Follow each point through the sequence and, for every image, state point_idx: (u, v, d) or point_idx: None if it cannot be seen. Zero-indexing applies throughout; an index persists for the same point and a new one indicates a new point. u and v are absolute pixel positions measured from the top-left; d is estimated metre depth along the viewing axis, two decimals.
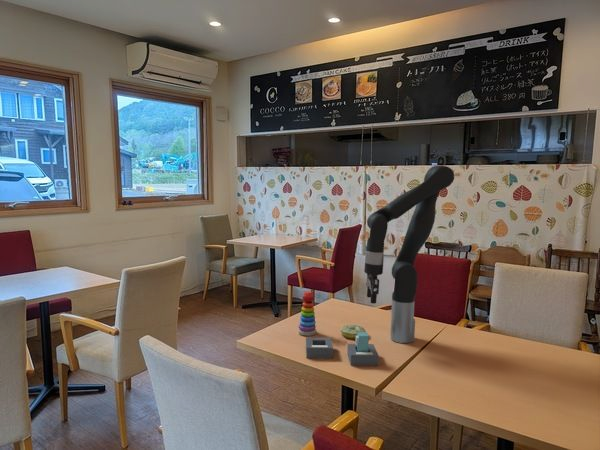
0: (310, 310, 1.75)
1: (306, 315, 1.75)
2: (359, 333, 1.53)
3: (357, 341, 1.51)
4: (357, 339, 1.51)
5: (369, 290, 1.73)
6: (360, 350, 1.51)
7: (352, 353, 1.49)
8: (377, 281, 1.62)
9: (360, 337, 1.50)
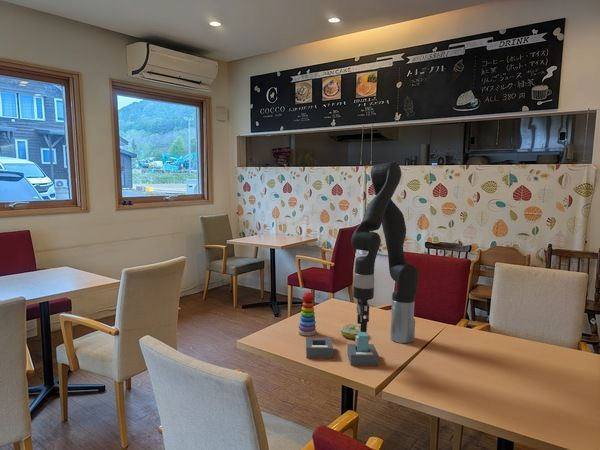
0: (310, 310, 1.75)
1: (306, 315, 1.75)
2: (359, 333, 1.53)
3: (357, 341, 1.51)
4: (357, 339, 1.51)
5: (359, 316, 1.56)
6: (360, 350, 1.51)
7: (352, 353, 1.49)
8: (367, 307, 1.44)
9: (360, 337, 1.50)
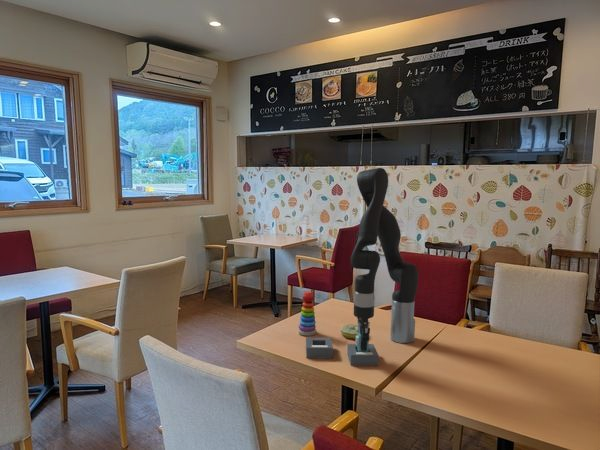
0: (310, 310, 1.75)
1: (306, 315, 1.75)
2: None
3: (357, 341, 1.51)
4: (357, 339, 1.51)
5: None
6: (360, 350, 1.51)
7: (352, 353, 1.49)
8: (367, 330, 1.45)
9: None
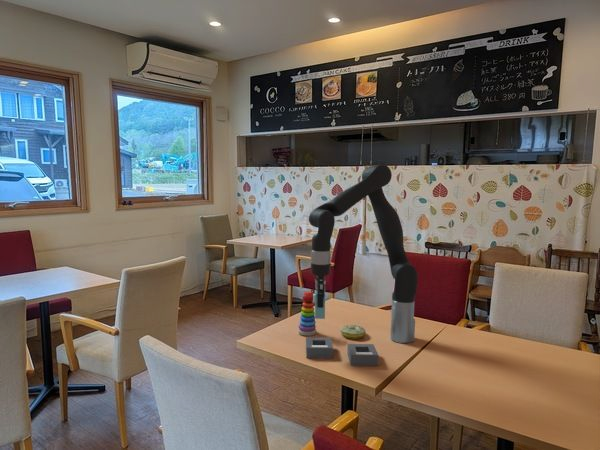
0: (310, 310, 1.75)
1: (306, 315, 1.75)
2: (316, 291, 1.57)
3: (314, 298, 1.55)
4: (314, 296, 1.55)
5: None
6: (317, 307, 1.55)
7: (352, 353, 1.49)
8: (322, 286, 1.49)
9: None
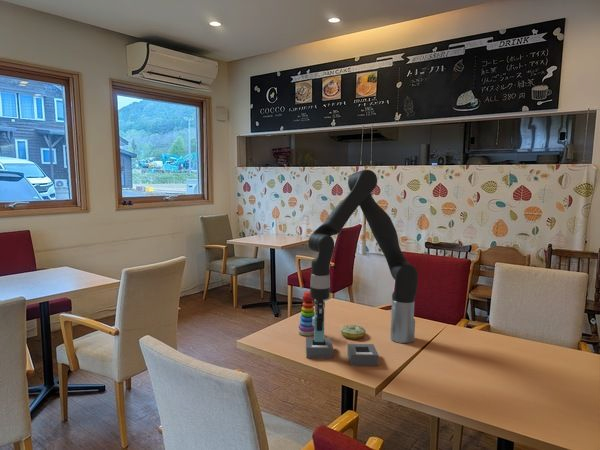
0: (310, 310, 1.75)
1: (306, 315, 1.75)
2: None
3: (313, 322, 1.57)
4: (313, 320, 1.57)
5: None
6: (316, 330, 1.56)
7: (352, 353, 1.49)
8: (322, 311, 1.51)
9: (316, 317, 1.56)
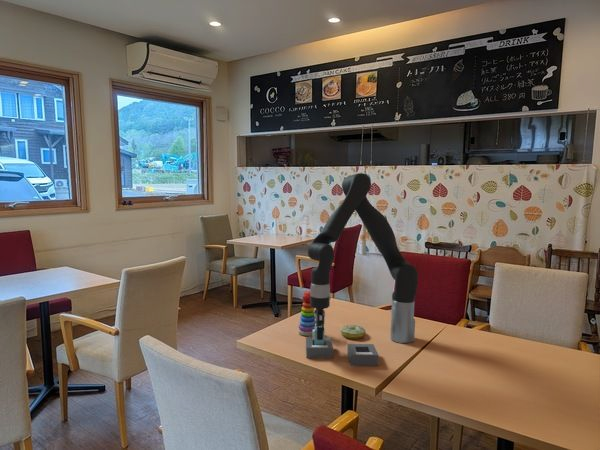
0: (310, 310, 1.75)
1: (306, 315, 1.75)
2: (316, 327, 1.58)
3: (313, 335, 1.57)
4: (313, 333, 1.57)
5: None
6: (316, 343, 1.57)
7: (352, 353, 1.49)
8: (322, 317, 1.50)
9: None
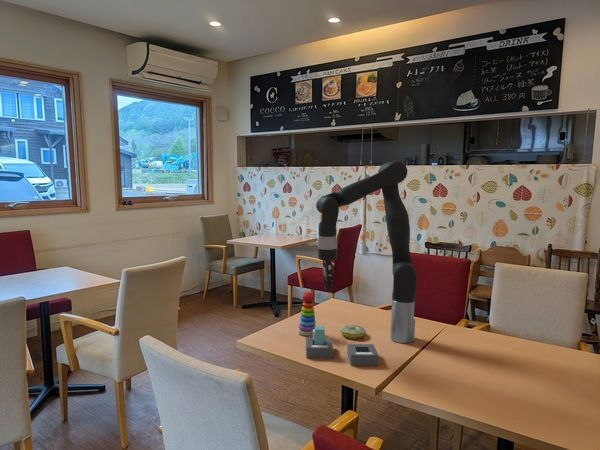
0: (310, 310, 1.75)
1: (306, 315, 1.75)
2: (316, 327, 1.58)
3: (314, 335, 1.57)
4: (314, 333, 1.57)
5: (326, 277, 1.66)
6: (316, 343, 1.57)
7: (352, 353, 1.49)
8: (331, 266, 1.55)
9: (317, 330, 1.56)
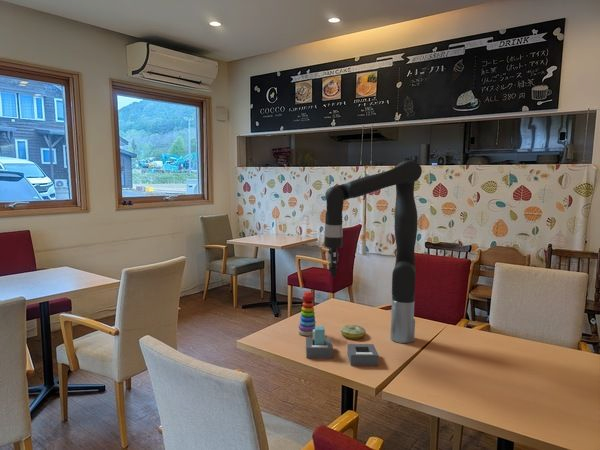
0: (310, 310, 1.75)
1: (306, 315, 1.75)
2: (316, 327, 1.58)
3: (314, 335, 1.57)
4: (314, 333, 1.57)
5: (331, 264, 1.73)
6: (316, 343, 1.57)
7: (352, 353, 1.49)
8: (335, 253, 1.62)
9: (317, 330, 1.56)
